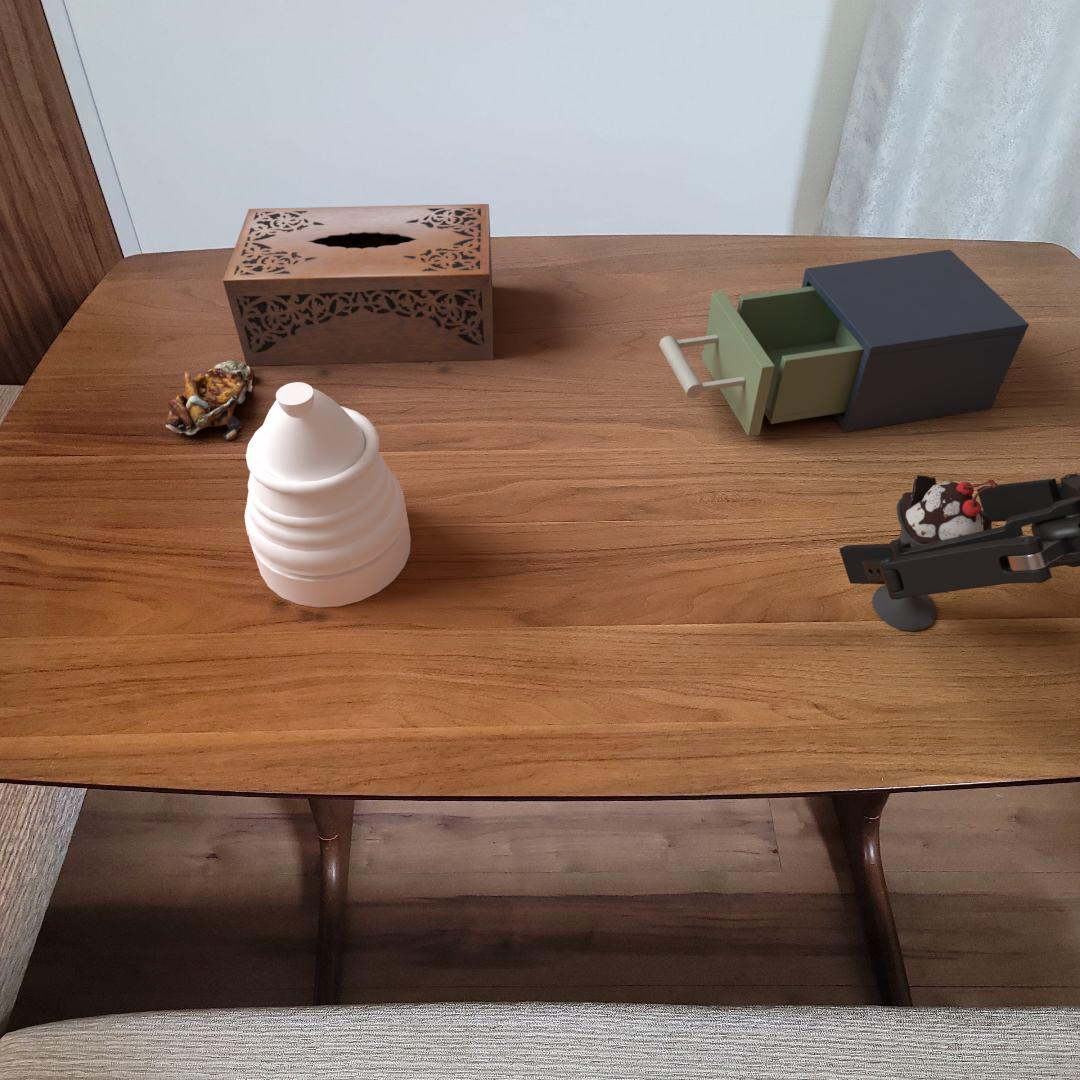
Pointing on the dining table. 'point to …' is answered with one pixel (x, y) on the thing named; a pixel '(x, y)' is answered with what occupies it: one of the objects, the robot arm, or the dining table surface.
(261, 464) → the honey pot
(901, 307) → the cabinet
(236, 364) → the dish of fried food
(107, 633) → the dining table surface
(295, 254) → the tissue box cover
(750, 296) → the drawer
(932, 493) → the sundae
